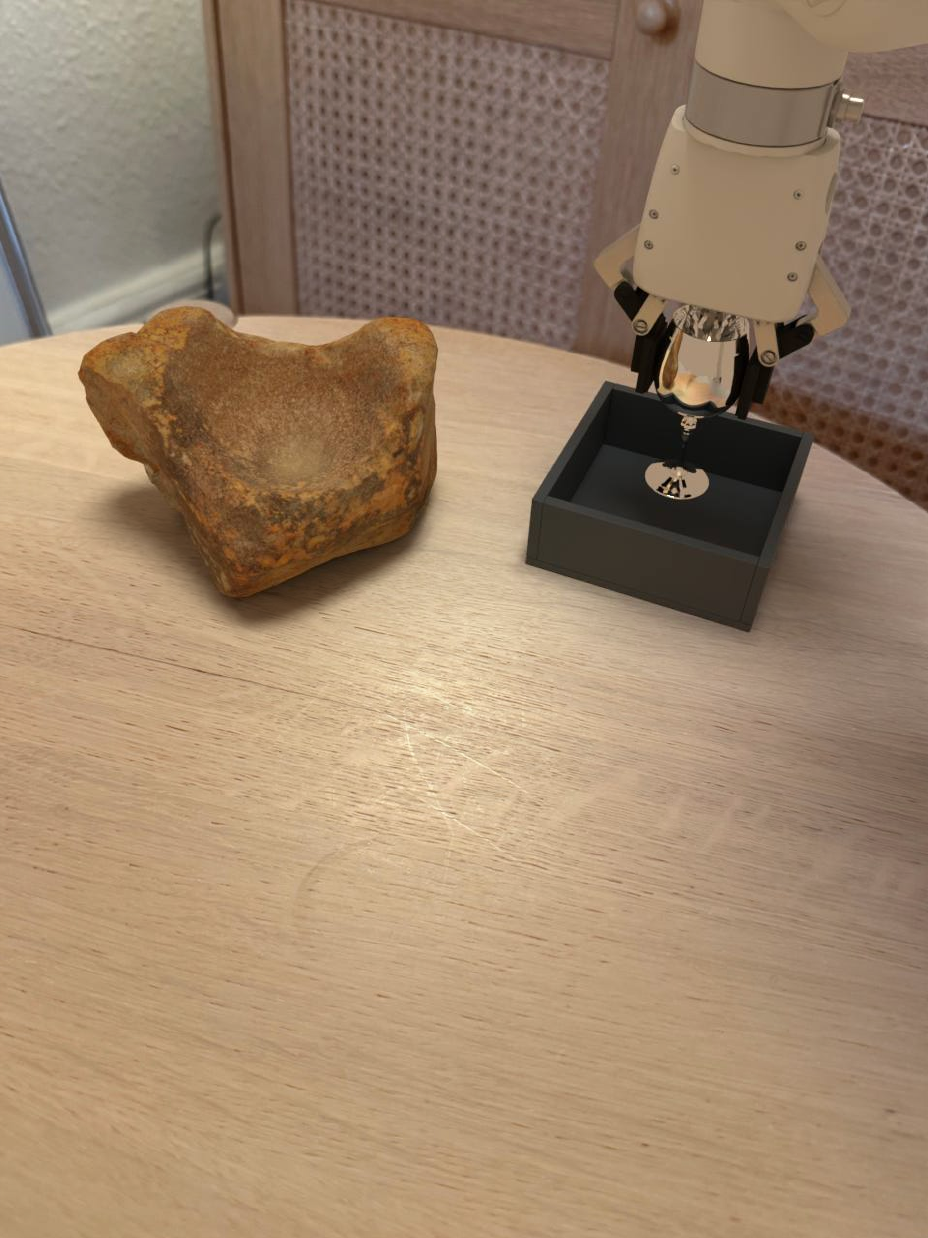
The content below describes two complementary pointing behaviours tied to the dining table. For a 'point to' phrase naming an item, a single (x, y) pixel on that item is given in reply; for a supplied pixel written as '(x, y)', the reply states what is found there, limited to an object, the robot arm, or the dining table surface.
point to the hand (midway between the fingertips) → (695, 393)
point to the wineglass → (696, 386)
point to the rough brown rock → (273, 436)
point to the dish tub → (668, 506)
